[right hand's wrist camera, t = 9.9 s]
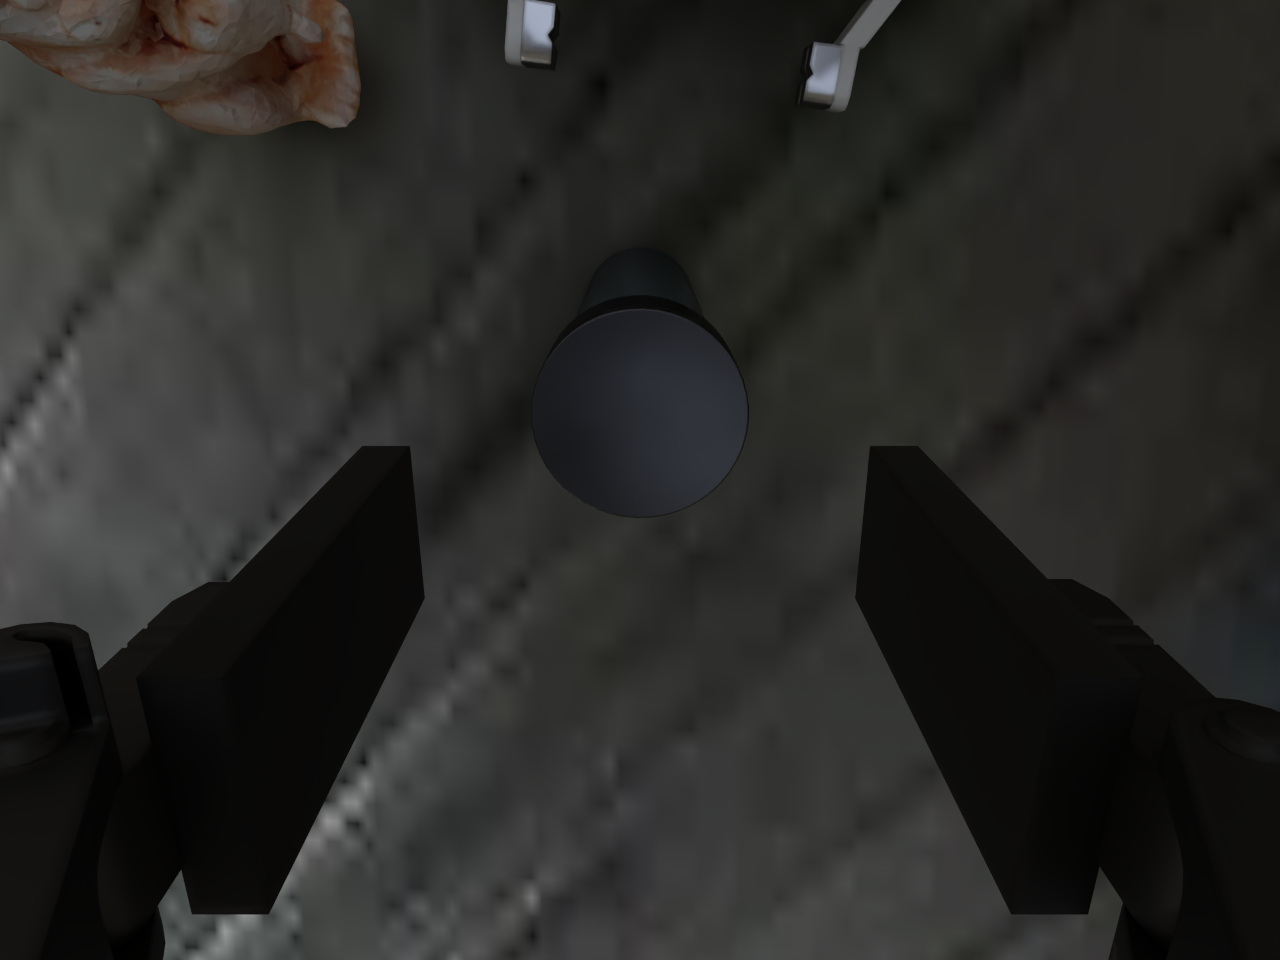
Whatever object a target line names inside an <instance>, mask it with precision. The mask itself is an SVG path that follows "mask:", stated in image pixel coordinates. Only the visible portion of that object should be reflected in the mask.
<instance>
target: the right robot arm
mask: <svg viewBox="0 0 1280 960" xmlns="http://www.w3.org/2000/svg"><path fill="white" fill-rule="evenodd" d="M424 599H425V596H424V586H423V576H422V565H421V555H420V545H419V535H418V525H417V514H416V504H415V494H414V484H413V474H412V463H411V453H410V446H362V447H361V448H360V449H359V450H358V451H357V452H356V453H355V454H354V455H353V456H352V457H351V458H350V459H349V460H348V461H347V462H346V463H345V464H344V465H343V466H342V467H341V469H340V470H339V471H338V472H337V473H336V474H335V475H334V476H333V477H332V478H331V479H330V480H329V481H328V482H327V483H326V484H325V485H324V486H323V487H322V488H321V489H320V490H319V491H318V492H317V493H316V494H315V495H314V496H313V497H312V498H311V499H310V500H309V501H308V502H307V503H306V504H305V505H304V506H303V507H302V508H301V509H300V510H299V511H298V512H297V514H296V515H295V516H294V517H293V518H292V519H291V520H290V521H289V522H288V523H287V524H286V525H285V526H284V527H283V528H282V529H281V530H280V531H279V532H278V533H277V534H276V535H275V536H274V537H273V538H272V539H271V540H270V541H269V542H268V543H267V544H266V545H265V546H264V547H263V548H262V549H261V550H260V551H259V552H258V553H257V554H256V555H255V556H254V558H253V559H252V560H251V561H250V562H249V563H248V564H247V565H246V566H245V567H244V568H243V569H242V570H241V571H240V572H239V573H238V574H237V575H236V576H235V577H234V578H233V579H232V580H231V581H230V582H208V583H206V584H204V585H202V586H200V587H198V588H196V589H195V590H193V591H191V592H189V593H187V594H185V595H183V596H181V597H179V598H177V599H176V600H174V601H172V602H171V603H170V604H169V605H168V606H166V607H165V608H164V609H163V610H162V611H161V612H160V613H159V614H158V615H157V616H156V617H155V618H154V619H153V620H152V621H150V622H149V623H148V627H147V629H142V630H141V631H140V632H139V633H138V634H137V635H136V636H134V637H133V638H132V639H131V640H130V641H129V642H128V643H127V644H128V646H127V648H122V649H121V650H120V651H119V652H117V653H116V654H115V655H114V656H113V657H112V658H111V659H110V660H109V661H108V662H107V663H106V664H105V665H104V666H103V667H101V668H100V669H99V670H98V669H97V665H96V661H95V657H94V654H93V650H92V646H91V642H90V638H89V634H88V633H87V632H85V631H84V630H82V629H81V628H79V627H77V626H76V625H71V624H63V623H55V622H45V623H33V624H21V625H16V626H12V627H7V628H3V629H0V960H163V955H164V948H165V937H164V930H163V924H162V920H161V916H160V912H159V908H158V904H159V903H160V901H161V900H162V898H163V897H164V895H165V893H166V892H167V890H168V889H169V887H170V886H171V884H172V883H173V881H174V880H175V878H176V877H177V875H178V873H179V872H180V870H182V874H183V878H184V883H185V887H186V891H187V895H188V899H189V904H190V908H191V912H192V914H269V913H270V911H271V908H272V906H273V904H274V902H275V900H276V898H277V896H278V894H279V892H280V890H281V888H282V886H283V884H284V882H285V880H286V878H287V876H288V874H289V872H290V870H291V868H292V866H293V864H294V862H295V860H296V858H297V856H298V854H299V852H300V850H301V848H302V846H303V844H304V842H305V840H306V838H307V836H308V834H309V832H310V829H311V827H312V825H313V823H314V821H315V819H316V817H317V815H318V813H319V811H320V809H321V807H322V805H323V803H324V801H325V799H326V797H327V795H328V793H329V791H330V789H331V787H332V785H333V783H334V781H335V779H336V777H337V775H338V773H339V771H340V769H341V767H342V765H343V763H344V761H345V759H346V757H347V755H348V753H349V750H350V748H351V746H352V744H353V742H354V740H355V738H356V736H357V734H358V732H359V730H360V728H361V726H362V724H363V722H364V720H365V718H366V716H367V714H368V712H369V710H370V708H371V706H372V704H373V702H374V700H375V698H376V696H377V694H378V692H379V690H380V688H381V686H382V684H383V682H384V680H385V678H386V676H387V674H388V671H389V669H390V667H391V665H392V663H393V661H394V659H395V657H396V655H397V653H398V651H399V649H400V647H401V645H402V643H403V641H404V639H405V637H406V635H407V633H408V631H409V629H410V627H411V625H412V623H413V621H414V619H415V617H416V615H417V613H418V611H419V609H420V607H421V605H422V603H423V601H424ZM855 599H856V601H857V603H858V605H859V607H860V609H861V611H862V613H863V615H864V617H865V619H866V621H867V623H868V625H869V627H870V629H871V631H872V633H873V635H874V637H875V639H876V641H877V643H878V645H879V647H880V649H881V651H882V653H883V655H884V657H885V659H886V661H887V663H888V665H889V667H890V669H891V672H892V674H893V676H894V678H895V680H896V682H897V684H898V686H899V688H900V690H901V692H902V694H903V696H904V698H905V700H906V702H907V704H908V706H909V708H910V710H911V712H912V714H913V716H914V718H915V720H916V722H917V724H918V726H919V728H920V730H921V732H922V734H923V736H924V738H925V740H926V742H927V744H928V746H929V748H930V751H931V753H932V755H933V757H934V759H935V761H936V763H937V765H938V767H939V769H940V771H941V773H942V775H943V777H944V779H945V781H946V783H947V785H948V787H949V789H950V791H951V793H952V795H953V797H954V799H955V801H956V803H957V805H958V807H959V809H960V811H961V813H962V815H963V817H964V819H965V821H966V823H967V825H968V827H969V830H970V832H971V834H972V836H973V838H974V840H975V842H976V844H977V846H978V848H979V850H980V852H981V854H982V856H983V858H984V860H985V862H986V864H987V866H988V868H989V870H990V872H991V874H992V876H993V878H994V880H995V882H996V884H997V886H998V888H999V890H1000V892H1001V894H1002V896H1003V898H1004V900H1005V902H1006V904H1007V906H1008V909H1009V911H1010V913H1011V914H1088V912H1089V908H1090V904H1091V899H1092V895H1093V891H1094V887H1095V882H1096V878H1097V874H1098V870H1099V866H1100V867H1101V869H1102V870H1103V872H1104V873H1105V875H1106V877H1107V878H1108V880H1109V881H1110V883H1111V884H1112V886H1113V887H1114V889H1115V890H1116V892H1117V893H1118V895H1119V896H1120V898H1121V900H1122V901H1123V905H1122V908H1121V912H1120V916H1119V920H1118V924H1117V928H1116V932H1115V936H1114V940H1113V944H1112V948H1111V952H1110V956H1109V959H1108V960H1280V712H1278V711H1275V710H1273V709H1270V708H1267V707H1263V706H1259V705H1255V704H1252V703H1248V702H1244V701H1240V700H1234V699H1223V698H1215V697H1214V696H1213V695H1212V694H1211V693H1210V692H1209V691H1208V690H1207V689H1206V688H1204V687H1203V686H1202V685H1201V684H1200V683H1199V682H1198V681H1197V680H1196V679H1195V678H1194V677H1193V676H1192V675H1190V674H1189V673H1188V672H1187V671H1186V670H1185V669H1184V668H1183V667H1182V666H1181V665H1180V664H1179V663H1178V662H1177V661H1175V660H1174V659H1173V658H1172V657H1171V656H1170V655H1169V654H1168V653H1167V652H1166V651H1165V650H1164V649H1163V648H1161V647H1160V646H1159V645H1154V643H1153V639H1152V638H1151V637H1150V636H1149V635H1148V634H1146V633H1145V632H1144V631H1143V630H1142V629H1141V628H1140V627H1139V626H1133V621H1132V620H1131V619H1130V618H1129V617H1128V616H1127V615H1126V614H1125V613H1124V612H1123V611H1122V610H1121V609H1120V608H1119V607H1117V606H1116V605H1115V604H1114V603H1113V602H1112V601H1111V600H1110V599H1109V598H1107V597H1105V596H1103V595H1101V594H1099V593H1097V592H1095V591H1094V590H1092V589H1090V588H1088V587H1086V586H1084V585H1082V584H1080V583H1078V582H1076V581H1074V580H1073V579H1047V578H1046V577H1045V576H1044V575H1043V574H1042V573H1041V572H1040V571H1039V570H1038V569H1037V568H1036V567H1035V566H1034V565H1033V564H1032V563H1031V562H1030V561H1029V560H1028V559H1027V558H1026V557H1025V555H1024V554H1023V553H1022V552H1021V551H1020V550H1019V549H1018V548H1017V547H1016V546H1015V545H1014V544H1013V543H1012V542H1011V541H1010V540H1009V539H1008V538H1007V537H1006V536H1005V535H1004V534H1003V533H1002V532H1001V531H1000V530H999V529H998V528H997V527H996V526H995V525H994V524H993V523H992V522H991V521H990V520H989V519H988V518H987V517H986V516H985V515H984V514H983V513H982V511H981V510H980V509H979V508H978V507H977V506H976V505H975V504H974V503H973V502H972V501H971V500H970V499H969V498H968V497H967V496H966V495H965V494H964V493H963V492H962V491H961V490H960V489H959V488H958V487H957V486H956V485H955V484H954V483H953V482H952V481H951V480H950V479H949V478H948V477H947V476H946V475H945V474H944V473H943V472H942V471H941V470H940V469H939V467H938V466H937V465H936V464H935V463H934V462H933V461H932V460H931V459H930V458H929V457H928V456H927V455H926V454H925V453H924V452H923V451H922V450H921V449H920V448H919V447H918V446H870V453H869V463H868V473H867V484H866V494H865V504H864V514H863V524H862V535H861V545H860V555H859V565H858V576H857V586H856V596H855Z"/></svg>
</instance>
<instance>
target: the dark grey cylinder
mask: <svg viewBox="0 0 1280 960" xmlns="http://www.w3.org/2000/svg"><path fill="white" fill-rule="evenodd" d="M633 295H647V296H657V297H661V298H665V299H670V300H672V301H675V302H678V303H680V304H683V305H685V306H687V307H688V308H690V309H692V310H694V311H695V312H697V313H698V314H699V315H701V316H702V317H704V315H703V313H702V311H701V308H700V306H699V303H698V301H697V298H696V296H695V294H694V291H693V289H692V286H691V284H690V282H689V279H688V277H687V275H686V274H685V272H684V271H683V269H682V268H681V267H680V265H679V264H677V263H676V262H675V261H674V260H673V259H672V258H670V257H669V256H667V255H665V254H664V253H661V252H659V251H656V250H652V249H647V248H633V249H627V250H624V251H621V252H619V253H616V254H614V255H613V256H611V257H610V258H608V259H607V260H606V261H605V262H603V263H602V265H601V266H600V267H599V268H598V269H597V271H596V272H595V274H594V275H593V277H592V279H591V281H590V284H589V286H588V289H587V291H586V293H585V296H584V298H583V301H582V303H581V305H580V308H579V310H578V313H577V315H576V317H575V318H577V317H578V316H579V315H580V314H582V313H583V312H585V311H586V310H588V309H590V308H591V307H593V306H595V305H598V304H600V303H602V302H605V301H608V300H611V299H614V298H618V297H624V296H633Z"/></svg>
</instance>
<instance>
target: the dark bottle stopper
mask: <svg viewBox="0 0 1280 960" xmlns="http://www.w3.org/2000/svg"><path fill="white" fill-rule="evenodd" d="M531 420H532V430H533V434H534V439H535V442H536V445H537V448H538V451H539V453H540V455H541V457H542V459H543V461H544V463H545V465H546V467H547V468H548V470H549V471H550V472H551V474H552V475H553V477H554V478H555V479H556V480H557V481H558V482H559V483H560V484H561V486H562V487H563V488H565V489H566V490H567V491H568V492H569V493H570V494H572V495H573V496H574V497H576V498H577V499H579V500H580V501H582V502H583V503H585V504H587V505H589V506H591V507H593V508H595V509H597V510H600V511H603V512H606V513H609V514H613V515H618V516H622V517H633V518H648V517H656V516H663V515H667V514H670V513H674V512H677V511H680V510H682V509H685V508H687V507H689V506H691V505H693V504H695V503H696V502H698V501H700V500H702V499H703V498H704V497H706V496H707V495H708V494H710V493H711V492H712V491H713V490H714V489H715V488H716V487H717V486H718V485H719V484H720V483H722V481H723V480H724V479H725V478H726V476H727V475H728V474H729V473H730V471H731V470H732V468H733V466H734V465H735V463H736V461H737V460H738V457H739V455H740V453H741V451H742V448H743V445H744V442H745V438H746V435H747V428H748V422H749V405H748V397H747V391H746V388H745V384H744V380H743V378H742V375H741V373H740V371H739V368H738V366H737V364H736V362H735V360H734V358H733V356H732V353H731V351H730V349H729V348H728V346H727V344H726V343H725V341H724V339H723V338H722V336H721V335H720V334H719V333H718V331H717V330H716V329H715V328H714V327H713V326H712V325H711V324H710V323H709V322H708V321H707V320H706V319H705V318H704V317H702V316H701V315H699V314H698V313H697V312H695V311H694V310H692V309H690V308H688V307H687V306H685V305H683V304H680V303H678V302H675V301H672V300H670V299H665V298H661V297H657V296H647V295H633V296H624V297H618V298H614V299H611V300H608V301H605V302H602V303H600V304H598V305H595V306H593V307H591V308H590V309H588V310H586V311H585V312H583V313H582V314H580V315H579V316H578V317H577V318H575V319H574V320H573V321H572V322H571V323H569V325H568V326H567V327H566V328H565V329H564V330H563V331H562V332H561V334H560V335H559V336H558V338H557V339H556V341H555V342H554V344H553V346H552V348H551V350H550V352H549V354H548V356H547V358H546V360H545V362H544V364H543V366H542V368H541V370H540V372H539V375H538V378H537V381H536V384H535V387H534V392H533V397H532V406H531Z"/></svg>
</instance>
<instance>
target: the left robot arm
mask: <svg viewBox="0 0 1280 960" xmlns="http://www.w3.org/2000/svg"><path fill="white" fill-rule="evenodd" d="M900 1H901V0H866V1H865V2H864V3H863V5H862V6H861V7H860V9H859V10H858V11H857V13H856V14H855V15H854V17H853V18H852V19H851V21H850V22H849V23H848V25H847V26H846V27H845V29H844V30H843V31H842V33H841V34H840V35H839V37H838V38H837V39H836V41H835V42H834V43H833V44H828V43H819V42H813V43H812V44H810V46H807V47H806V48H805V49H804V52H803V57H802V63H801V68H800V72H801V74H802V77H803V80H802V81H801V82H800V83H799V84H798V85H797V91H796V98H795V105H796V106H800V107H806V108H812V109H818V110H824V111H832V112H841V111H845V109H846V107H847V105H848V102H849V99H850V95H851V90H852V85H853V80H854V75H855V70H856V65H857V60H858V55H859V50H861V49H863V48H864V47H865V46H866V45H867V44H868V42H869V41H870V40H871V38H872V37H873V36H874V35H875V33H876V32H877V31H878V29H879V28H880V27H881V26H882V24H883V23H884V22H885V20H886V19H887V18H888V17H889V15H890V14H891V13H892V11H893V10H894V9H895V8H896V6H897V5H898V4H899V2H900ZM557 8H558V7H557V5H556V4H554V3H549V2H543V1H537V0H508V7H507V22H506V37H505V59H506V62H507V63H508V64H510V65H513V66H521V67H527V68H535V69H543V70H552V71H555V67H556V60H557V49H556V47H555V45H554V43H553V42H554V41H555V40H556V38H557V37H558V36H559V27H560V14H561V13H560V11H559V10H558V9H557Z"/></svg>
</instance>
